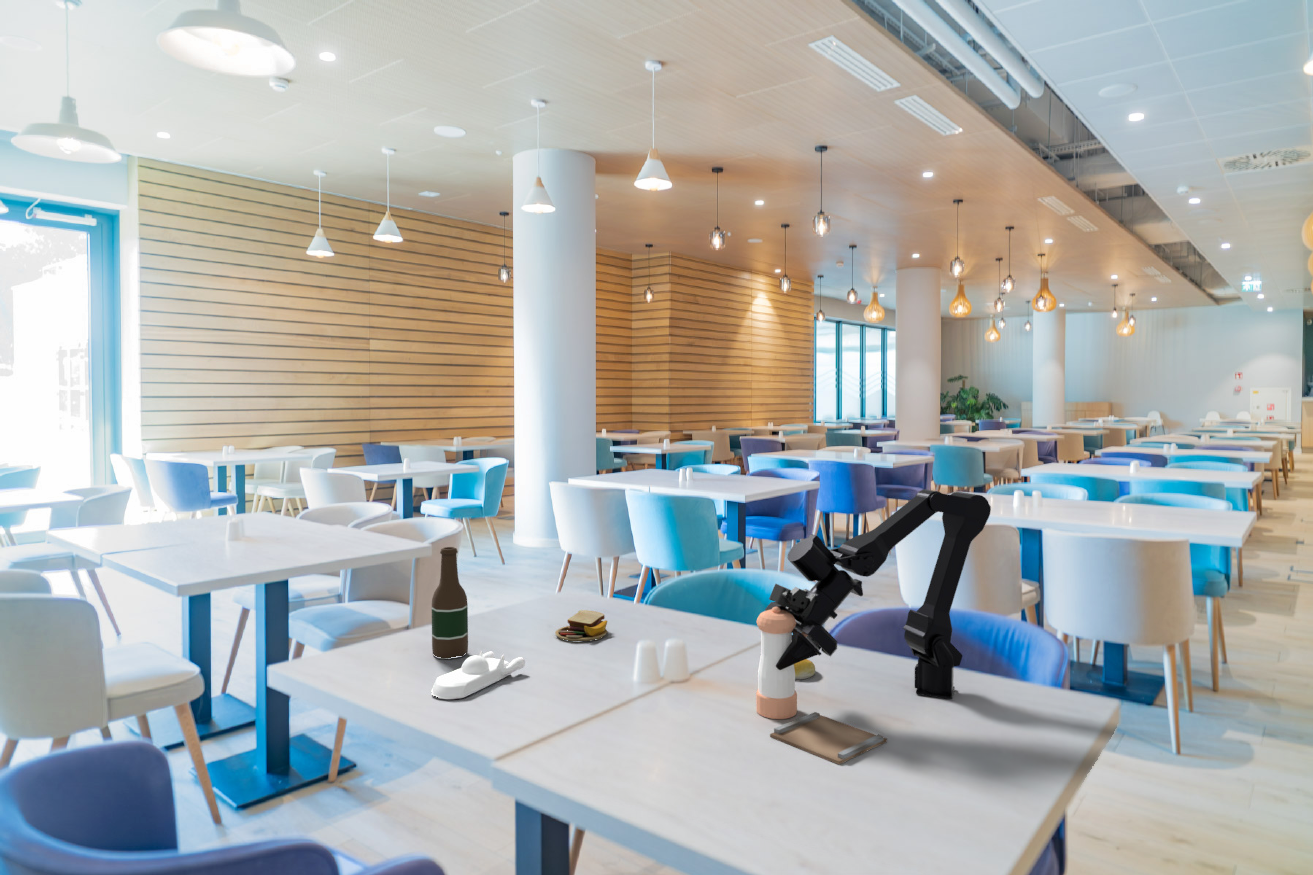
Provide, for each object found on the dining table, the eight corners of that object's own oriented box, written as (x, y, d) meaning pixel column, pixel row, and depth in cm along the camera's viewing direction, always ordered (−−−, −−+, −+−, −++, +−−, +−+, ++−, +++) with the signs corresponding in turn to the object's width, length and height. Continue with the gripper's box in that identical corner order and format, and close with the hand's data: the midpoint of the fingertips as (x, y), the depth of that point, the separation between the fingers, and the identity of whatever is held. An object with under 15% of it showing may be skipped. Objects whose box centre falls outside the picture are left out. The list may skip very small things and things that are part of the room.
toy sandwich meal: (544, 638, 196) (544, 618, 195) (580, 625, 207) (580, 607, 206) (584, 647, 188) (584, 626, 188) (620, 633, 199) (619, 614, 199)
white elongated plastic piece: (417, 696, 157) (417, 666, 157) (487, 666, 175) (486, 639, 174) (458, 705, 152) (457, 674, 152) (525, 674, 169) (525, 646, 169)
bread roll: (785, 682, 164) (785, 663, 164) (768, 668, 172) (767, 650, 172) (823, 678, 166) (823, 659, 166) (803, 665, 175) (803, 646, 175)
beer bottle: (475, 652, 183) (474, 546, 182) (449, 662, 177) (448, 552, 176) (451, 647, 188) (449, 543, 187) (424, 656, 181) (423, 548, 180)
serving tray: (818, 717, 145) (818, 710, 145) (887, 741, 134) (887, 734, 134) (770, 736, 137) (770, 729, 137) (838, 764, 126) (838, 756, 126)
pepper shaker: (804, 709, 148) (804, 606, 146) (781, 722, 143) (781, 615, 141) (771, 699, 153) (771, 599, 151) (748, 711, 148) (747, 607, 146)
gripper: (774, 559, 157) (721, 620, 154) (821, 579, 139) (762, 649, 136) (811, 597, 159) (759, 658, 157) (862, 621, 142) (804, 690, 139)
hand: (769, 662), depth 147 cm, fingers closed on pepper shaker, 6 cm apart
